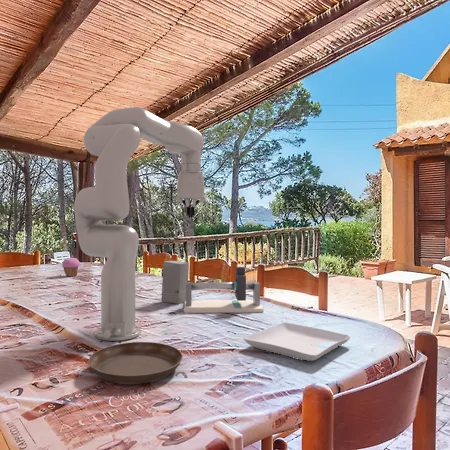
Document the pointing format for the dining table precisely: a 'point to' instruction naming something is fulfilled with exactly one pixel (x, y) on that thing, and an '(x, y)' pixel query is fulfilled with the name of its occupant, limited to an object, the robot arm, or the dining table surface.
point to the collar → (240, 284)
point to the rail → (221, 286)
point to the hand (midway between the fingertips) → (190, 217)
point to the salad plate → (295, 340)
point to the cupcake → (71, 266)
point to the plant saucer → (135, 362)
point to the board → (222, 306)
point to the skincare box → (174, 281)
